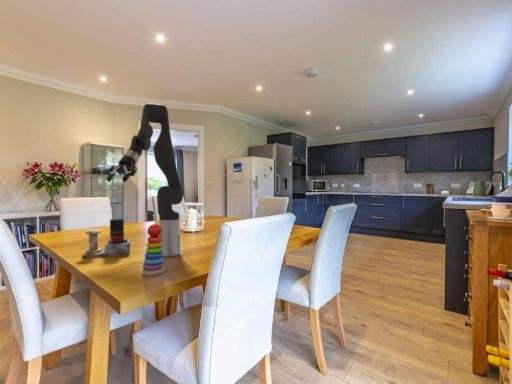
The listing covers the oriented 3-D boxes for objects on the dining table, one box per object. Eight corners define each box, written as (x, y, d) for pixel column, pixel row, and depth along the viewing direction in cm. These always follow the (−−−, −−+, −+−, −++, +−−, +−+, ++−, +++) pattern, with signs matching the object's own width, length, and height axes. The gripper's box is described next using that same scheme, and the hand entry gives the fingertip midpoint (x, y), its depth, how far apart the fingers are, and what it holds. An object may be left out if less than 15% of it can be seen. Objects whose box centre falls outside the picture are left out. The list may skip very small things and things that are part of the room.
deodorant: (107, 250, 124) (107, 220, 124) (117, 247, 130) (116, 218, 130) (117, 251, 123) (117, 220, 122) (126, 248, 129) (126, 218, 128)
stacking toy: (157, 277, 93) (156, 226, 93) (137, 275, 95) (137, 225, 95) (168, 270, 101) (168, 223, 101) (150, 268, 103) (150, 222, 102)
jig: (130, 249, 134) (130, 227, 133) (129, 254, 123) (129, 230, 123) (87, 252, 126) (86, 229, 126) (82, 258, 116) (81, 233, 115)
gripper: (114, 155, 139) (98, 175, 128) (138, 154, 137) (125, 175, 126) (120, 165, 144) (106, 186, 133) (144, 165, 142) (132, 186, 131)
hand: (115, 180), depth 129 cm, fingers open, 8 cm apart
